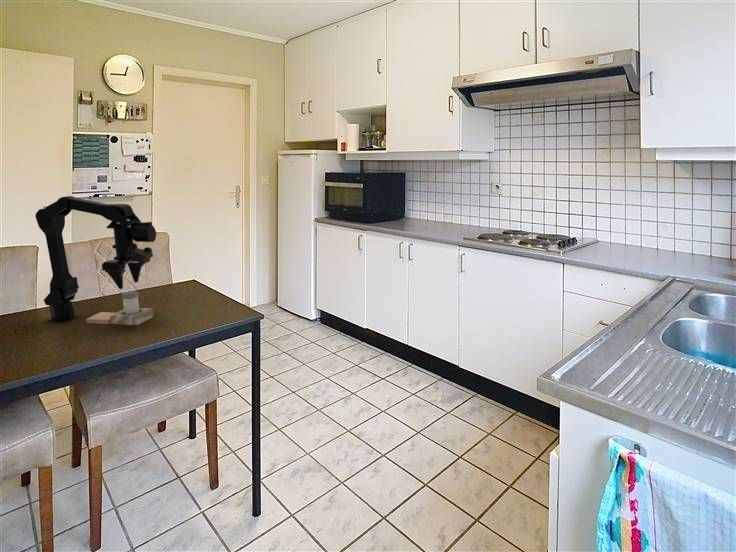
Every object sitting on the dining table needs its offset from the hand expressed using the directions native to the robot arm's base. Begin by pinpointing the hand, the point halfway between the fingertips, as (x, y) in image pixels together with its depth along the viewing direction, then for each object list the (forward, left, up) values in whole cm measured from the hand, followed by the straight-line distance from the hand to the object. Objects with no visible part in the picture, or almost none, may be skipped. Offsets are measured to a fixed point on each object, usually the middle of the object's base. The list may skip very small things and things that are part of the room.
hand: (128, 285), depth 170 cm
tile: (-10, -1, -13) cm, 16 cm away
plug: (0, 0, -13) cm, 13 cm away
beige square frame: (0, 0, -13) cm, 13 cm away
